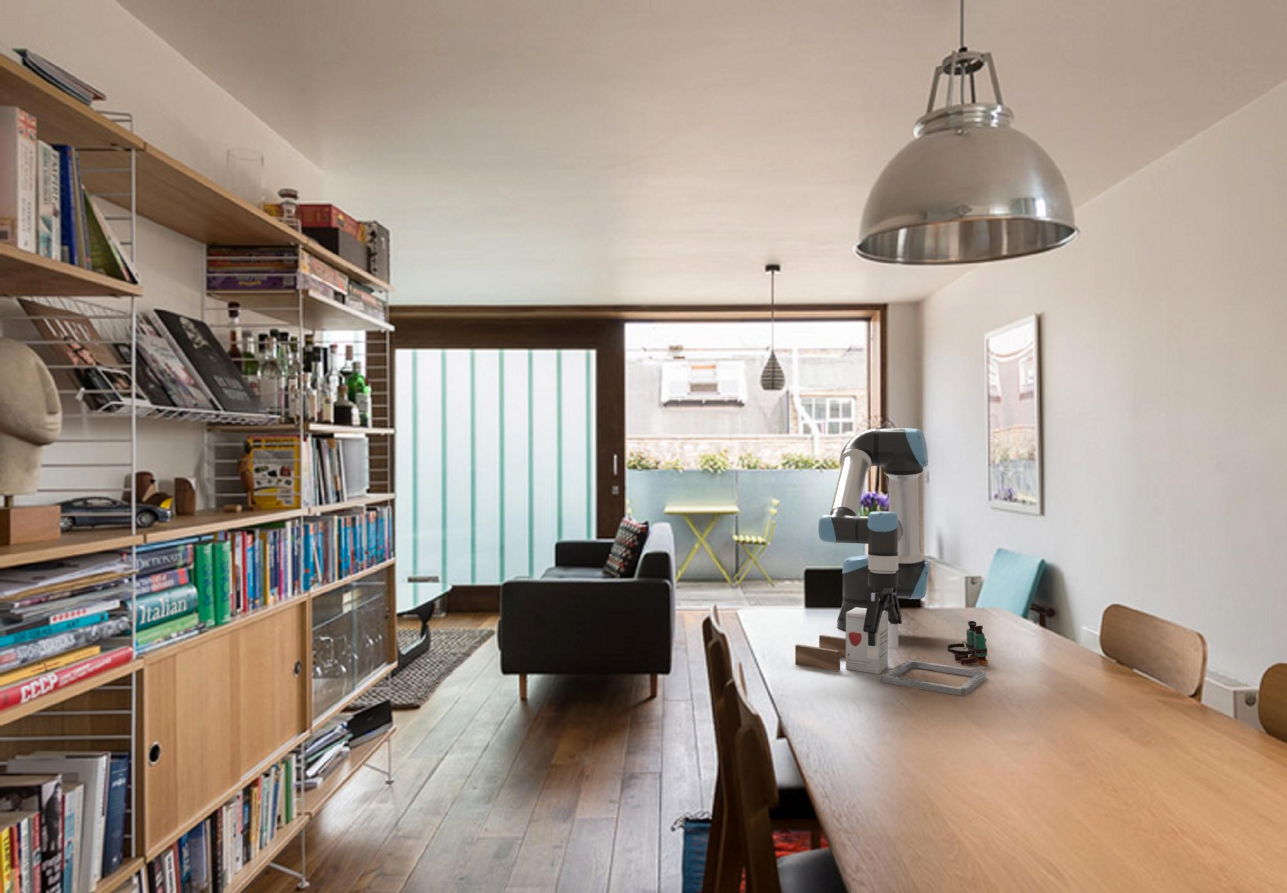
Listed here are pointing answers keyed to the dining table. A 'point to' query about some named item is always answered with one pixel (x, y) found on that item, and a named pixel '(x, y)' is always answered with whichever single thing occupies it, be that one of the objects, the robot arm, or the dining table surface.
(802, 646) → the wooden blocks
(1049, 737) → the dining table surface
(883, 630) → the supplement box
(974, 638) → the binoculars
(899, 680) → the gray rectangular frame
